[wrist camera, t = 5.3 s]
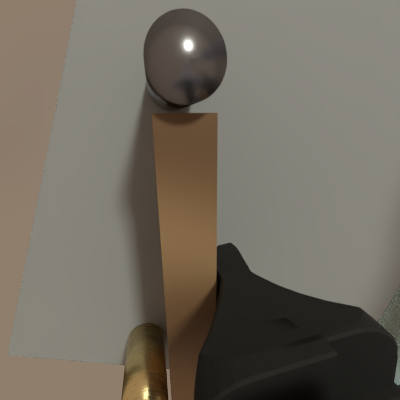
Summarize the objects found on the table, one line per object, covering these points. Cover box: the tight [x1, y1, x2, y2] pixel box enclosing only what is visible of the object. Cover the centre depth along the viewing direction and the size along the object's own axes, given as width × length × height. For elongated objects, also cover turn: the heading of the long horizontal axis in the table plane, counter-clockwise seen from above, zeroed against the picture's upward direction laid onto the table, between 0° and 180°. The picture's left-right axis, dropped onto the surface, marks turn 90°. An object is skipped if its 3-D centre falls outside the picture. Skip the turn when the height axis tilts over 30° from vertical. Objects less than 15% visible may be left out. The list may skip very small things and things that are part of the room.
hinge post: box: [143, 8, 227, 111], centre depth 8 cm, size 2×2×5 cm
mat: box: [8, 0, 400, 369], centre depth 13 cm, size 24×22×1 cm
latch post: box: [121, 323, 168, 400], centre depth 12 cm, size 2×2×4 cm
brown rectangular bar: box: [152, 113, 218, 400], centre depth 11 cm, size 13×2×4 cm, turn 2°
